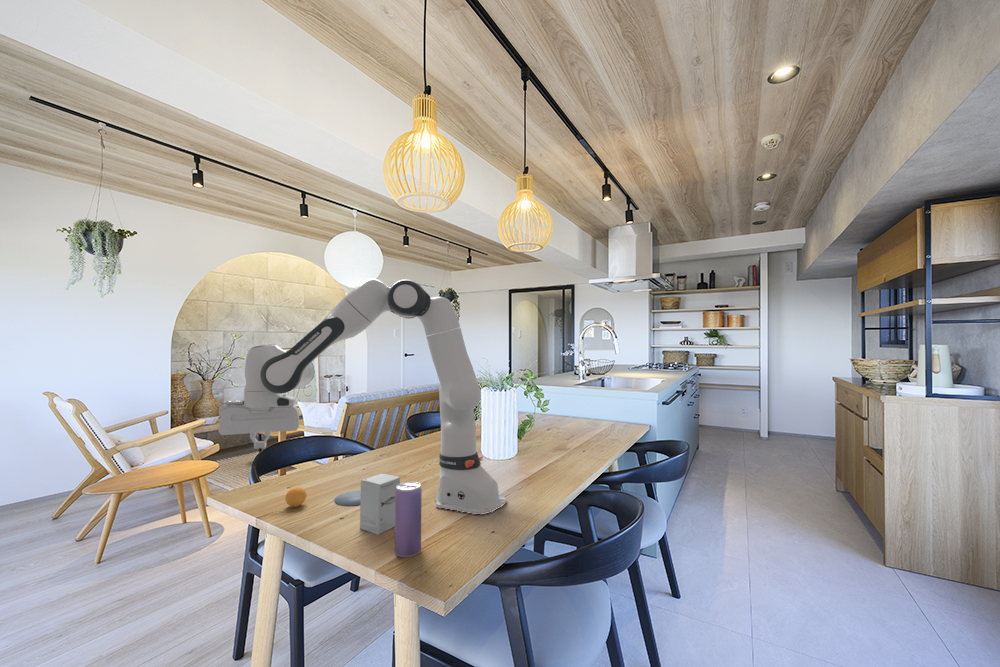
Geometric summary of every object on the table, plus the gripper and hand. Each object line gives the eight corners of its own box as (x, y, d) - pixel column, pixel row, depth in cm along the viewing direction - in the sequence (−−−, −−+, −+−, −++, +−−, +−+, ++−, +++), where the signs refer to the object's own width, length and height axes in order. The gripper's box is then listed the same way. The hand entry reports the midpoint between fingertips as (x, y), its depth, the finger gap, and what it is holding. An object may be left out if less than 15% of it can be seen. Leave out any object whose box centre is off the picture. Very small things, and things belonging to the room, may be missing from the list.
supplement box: (378, 535, 101) (379, 484, 101) (359, 528, 104) (359, 479, 105) (400, 524, 107) (400, 476, 107) (381, 518, 111) (381, 472, 111)
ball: (310, 505, 120) (310, 486, 121) (291, 511, 116) (291, 491, 116) (299, 501, 123) (300, 482, 124) (281, 506, 119) (281, 487, 119)
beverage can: (414, 559, 89) (415, 491, 90) (389, 556, 90) (390, 489, 91) (425, 546, 95) (425, 482, 95) (401, 544, 96) (402, 480, 97)
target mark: (386, 496, 128) (386, 495, 128) (351, 509, 117) (351, 508, 117) (361, 488, 135) (361, 487, 135) (325, 499, 124) (325, 499, 124)
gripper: (216, 402, 110) (214, 453, 110) (299, 399, 118) (297, 447, 118) (222, 400, 116) (220, 448, 116) (300, 397, 124) (299, 442, 123)
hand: (260, 448), depth 117 cm, fingers closed
